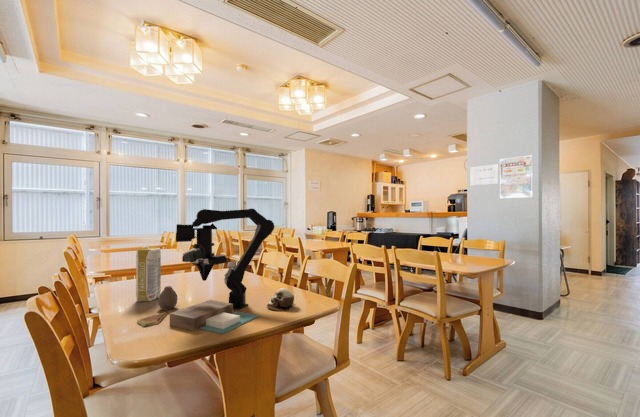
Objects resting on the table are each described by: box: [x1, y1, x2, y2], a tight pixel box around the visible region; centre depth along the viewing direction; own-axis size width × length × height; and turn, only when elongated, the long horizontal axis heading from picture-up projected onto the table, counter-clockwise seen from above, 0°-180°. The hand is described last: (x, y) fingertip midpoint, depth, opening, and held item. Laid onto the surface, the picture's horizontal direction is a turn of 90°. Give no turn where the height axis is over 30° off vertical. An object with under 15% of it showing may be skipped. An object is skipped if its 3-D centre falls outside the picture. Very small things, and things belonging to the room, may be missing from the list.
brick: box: [169, 299, 234, 332], centre depth 109 cm, size 18×12×4 cm, turn 153°
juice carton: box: [135, 245, 162, 302], centre depth 135 cm, size 9×8×24 cm
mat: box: [199, 311, 259, 335], centre depth 105 cm, size 18×10×1 cm, turn 153°
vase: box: [158, 285, 178, 311], centre depth 122 cm, size 7×7×9 cm
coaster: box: [206, 312, 240, 329], centre depth 104 cm, size 8×8×2 cm
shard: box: [136, 311, 168, 327], centre depth 108 cm, size 11×8×2 cm
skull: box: [266, 287, 297, 312], centre depth 123 cm, size 12×10×10 cm
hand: (204, 280), depth 118 cm, fingers closed
